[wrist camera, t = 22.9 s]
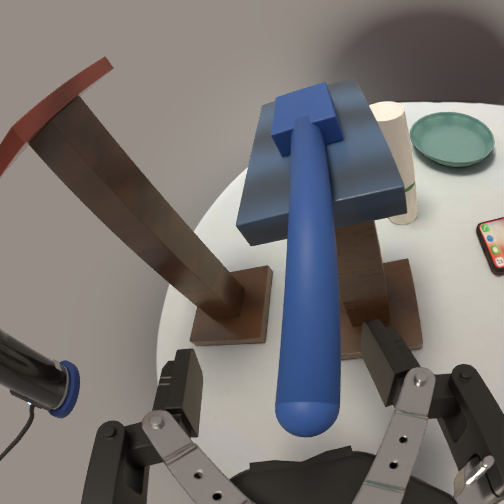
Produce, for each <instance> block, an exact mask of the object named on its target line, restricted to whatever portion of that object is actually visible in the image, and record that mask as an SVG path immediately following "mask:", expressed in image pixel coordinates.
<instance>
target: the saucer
mask: <svg viewBox="0 0 504 504" xmlns="http://www.w3.org/2000/svg"><path fill="white" fill-rule="evenodd" d="M410 138H411V141H412V143H413V144H414V146H415V147H416V148H417V149H418V150H419V151H420V152H421V153H422V154H424V155H425V156H426V157H428V158H430V159H431V160H433V161H435V162H437V163H440V164H443V165H446V166H452V167H465V166H469V165H473V164H475V163H477V162H479V161H481V160H483V159H484V158H485V157H486V156H488V155H489V153H490V152H491V151H492V149H493V147H494V137H493V134H492V132H491V131H490V130H489V128H488V127H487V126H486V125H485V124H484V123H482V122H481V121H479V120H478V119H476V118H474V117H471V116H469V115H465V114H461V113H456V112H439V113H434V114H430V115H427V116H424V117H423V118H421V119H419V120H418V121H417V122H415V123H414V124H413V126H412V128H411V130H410Z"/></svg>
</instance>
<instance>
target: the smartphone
mask: <svg viewBox="0 0 504 504" xmlns="http://www.w3.org/2000/svg"><path fill="white" fill-rule="evenodd" d="M476 232H477V234H478V237H479V239H480V241H481V244H482V246H483V249H484V252H485V253H486V256H487V258H488V261H489V263H490V266H491V269H492V270H493V271H494V272H495V273H498V274H501V273H504V217H502V218H498V219H494V220H490V221H486V222H482V223H479V224H478V225H477V228H476Z"/></svg>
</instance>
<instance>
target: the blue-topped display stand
mask: <svg viewBox="0 0 504 504" xmlns="http://www.w3.org/2000/svg"><path fill="white" fill-rule="evenodd" d="M327 87H328V89H329V92H330V94H331V97H332V99H333V102H334V106H335V109H336V113H337V116H338V120H339V123H340V127H341V131H342V134H343V140H341V141H337V142H333V143H330V144H326V145H325V151H326V157H327V165H328V172H329V180H330V188H331V197H332V206H333V215H334V226H335V237H336V249H337V263H338V279H339V300H340V335H341V360H343V359H353V358H361V357H362V354H361V348H360V346H361V335H362V325H363V322H365V321H370V320H374V319H379V320H380V321H381V323H382V324H383V326H384V327H385V328H386V327H391V328H393V329H394V330H396V331H397V332H398V333H399V334H400V336H401V337H402V339H403V341H404V342H405V343H406V345H407V346H408V348H409V349H410V350H415V349H420V348H422V344H423V342H422V334H421V326H420V319H419V312H418V306H417V300H416V294H415V289H414V284H413V279H412V274H411V269H410V264H409V260H408V259H403V260H398V261H392V262H387V263H383V261H382V256H381V250H380V245H379V240H378V235H377V230H376V225H375V221H374V220H379V219H383V218H388V217H393V216H398V215H403V214H407V212H408V211H407V202H406V193H405V186H404V183H403V181H402V178H401V176H400V173H399V170H398V168H397V166H396V163H395V161H394V158H393V156H392V154H391V151H390V149H389V147H388V144H387V142H386V140H385V138H384V135H383V133H382V131H381V129H380V127H379V125H378V123H377V121H376V118H375V116H374V114H373V112H372V110H371V108H370V106H369V105H368V103H367V101H366V99H365V97H364V95H363V93H362V92H361V90H360V88H359V86H358V84H357V82H356V80H355V79H354V78H352V79H348V80H344V81H340V82H337V83H332V84H329V85H327ZM274 107H275V101H274V102H271V103H268V104H266V105H263V106H262V108H261V113H260V117H259V121H258V126H257V130H256V134H255V139H254V143H253V148H252V152H251V157H250V161H249V166H248V170H247V175H246V179H245V184H244V189H243V193H242V198H241V203H240V207H239V212H238V217H237V222H236V227H237V228H238V229H239V231H240V232H241V233H242V235H243V236H244V238H245V239H246V240H247V242H248V243H249V244H250V246H256V245H260V244H265V243H270V242H274V241H279V240H284V239H288V218H289V193H290V161H291V154H290V155H287V156H284V157H282V156H281V154H280V152H279V150H278V148H277V146H276V145H275V143H274V141H273V139H272V137H271V130H272V123H273V115H274Z"/></svg>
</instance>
